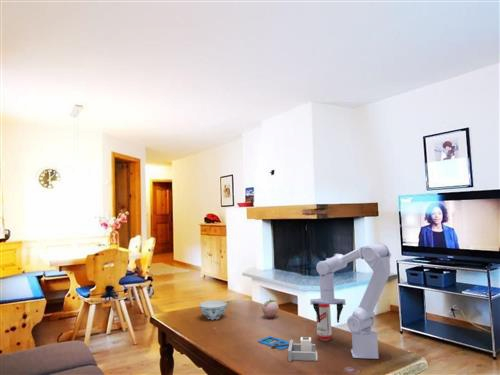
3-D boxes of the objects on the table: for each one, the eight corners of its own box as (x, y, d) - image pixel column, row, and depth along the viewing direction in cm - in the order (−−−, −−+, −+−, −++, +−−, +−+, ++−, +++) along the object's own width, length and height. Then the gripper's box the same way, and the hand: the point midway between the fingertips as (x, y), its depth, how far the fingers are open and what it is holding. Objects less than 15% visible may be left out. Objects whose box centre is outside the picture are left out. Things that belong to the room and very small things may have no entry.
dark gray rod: (295, 345, 153) (295, 342, 153) (295, 346, 152) (295, 343, 152) (271, 347, 151) (270, 345, 151) (271, 348, 150) (271, 346, 150)
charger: (311, 352, 143) (310, 336, 144) (311, 356, 140) (310, 340, 140) (301, 352, 144) (300, 336, 145) (301, 356, 140) (300, 339, 141)
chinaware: (196, 316, 202) (196, 302, 202) (221, 312, 208) (221, 299, 209) (204, 323, 188) (204, 308, 189) (231, 319, 195) (231, 304, 195)
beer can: (322, 335, 164) (320, 299, 165) (334, 338, 159) (332, 301, 161) (314, 339, 159) (312, 302, 161) (326, 342, 155) (324, 304, 156)
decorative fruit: (268, 314, 201) (267, 296, 202) (281, 316, 196) (280, 297, 197) (259, 319, 193) (258, 299, 194) (272, 321, 189) (271, 301, 189)
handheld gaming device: (282, 348, 148) (256, 340, 159) (282, 351, 148) (256, 342, 159) (295, 343, 154) (269, 335, 165) (295, 345, 154) (270, 337, 164)
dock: (317, 350, 146) (316, 340, 147) (317, 362, 134) (316, 351, 135) (290, 349, 148) (290, 339, 148) (288, 361, 136) (287, 350, 137)
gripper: (343, 287, 157) (345, 319, 156) (309, 287, 159) (311, 318, 158) (345, 290, 150) (346, 324, 149) (309, 290, 152) (311, 323, 151)
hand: (328, 321), depth 153 cm, fingers open, 7 cm apart
